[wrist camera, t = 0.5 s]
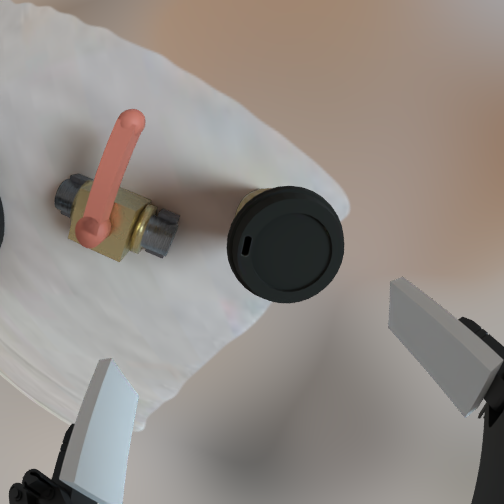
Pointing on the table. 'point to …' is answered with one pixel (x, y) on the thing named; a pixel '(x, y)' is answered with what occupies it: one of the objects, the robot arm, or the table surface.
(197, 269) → the table surface
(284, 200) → the coffee cup
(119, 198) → the pipe run
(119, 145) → the lever
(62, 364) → the table surface
